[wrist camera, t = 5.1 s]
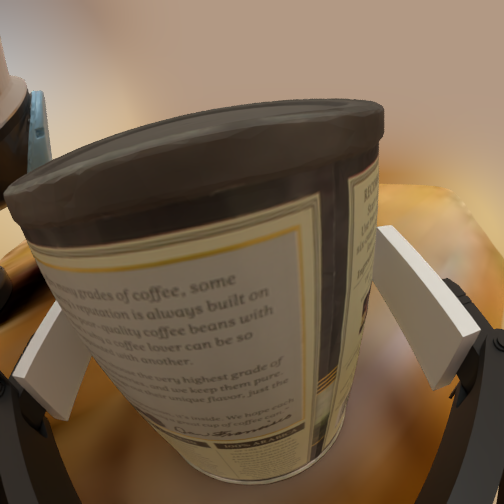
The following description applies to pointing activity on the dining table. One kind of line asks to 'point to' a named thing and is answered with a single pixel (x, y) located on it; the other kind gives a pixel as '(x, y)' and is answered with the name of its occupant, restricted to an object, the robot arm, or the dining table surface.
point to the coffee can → (220, 272)
